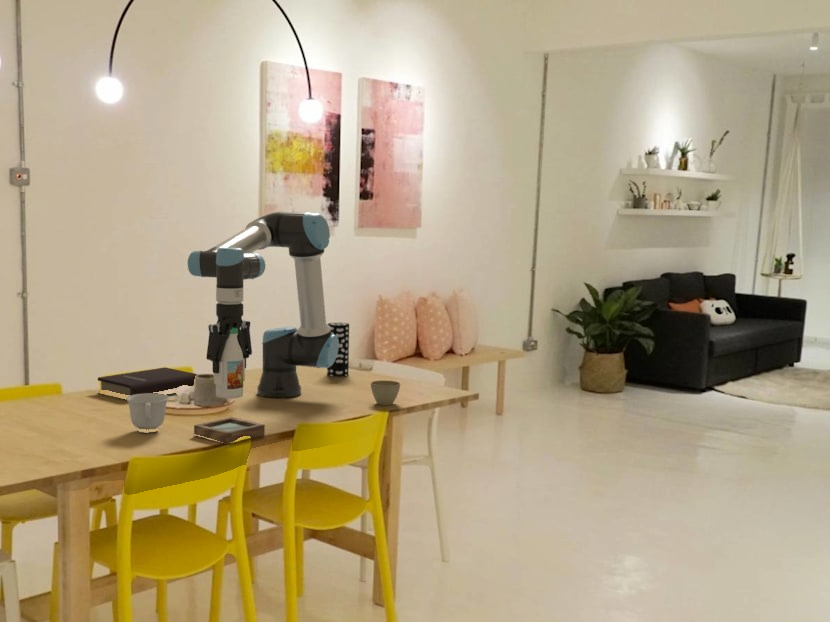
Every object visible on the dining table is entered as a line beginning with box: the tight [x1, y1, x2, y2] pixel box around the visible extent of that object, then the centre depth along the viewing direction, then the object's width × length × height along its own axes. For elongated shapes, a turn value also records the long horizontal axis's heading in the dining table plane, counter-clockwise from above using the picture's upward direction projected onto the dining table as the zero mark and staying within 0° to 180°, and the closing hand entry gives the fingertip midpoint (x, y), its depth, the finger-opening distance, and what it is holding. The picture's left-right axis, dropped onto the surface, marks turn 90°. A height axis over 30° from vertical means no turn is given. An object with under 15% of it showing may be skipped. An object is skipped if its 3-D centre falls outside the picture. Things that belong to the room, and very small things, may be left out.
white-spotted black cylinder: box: [326, 322, 350, 378], centre depth 364 cm, size 8×8×20 cm
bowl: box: [370, 379, 401, 406], centre depth 315 cm, size 10×10×7 cm
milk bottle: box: [215, 327, 244, 400], centre depth 266 cm, size 8×8×20 cm
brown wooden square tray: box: [193, 416, 266, 445], centre depth 268 cm, size 14×14×3 cm
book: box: [97, 366, 198, 396], centre depth 325 cm, size 28×20×6 cm
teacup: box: [125, 393, 170, 430], centre depth 269 cm, size 12×15×10 cm
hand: (229, 382), depth 266 cm, fingers closed on milk bottle, 8 cm apart
